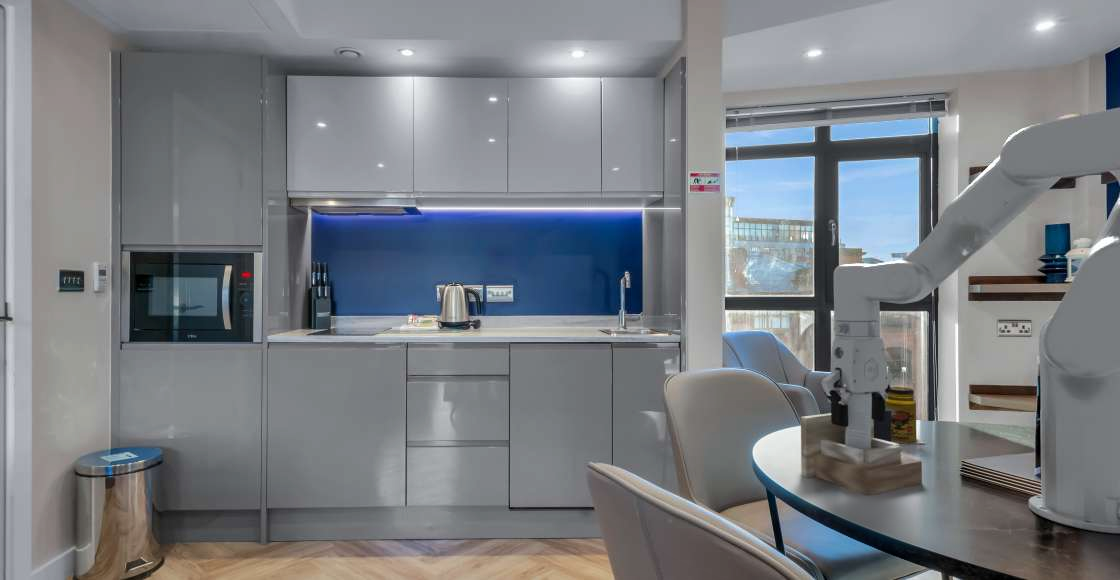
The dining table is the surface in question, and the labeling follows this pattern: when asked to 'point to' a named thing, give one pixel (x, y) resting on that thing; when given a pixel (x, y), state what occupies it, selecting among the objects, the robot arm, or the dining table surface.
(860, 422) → the skincare box
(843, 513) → the dining table surface
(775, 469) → the dining table surface
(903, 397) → the condiment
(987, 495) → the dining table surface
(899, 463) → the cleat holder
